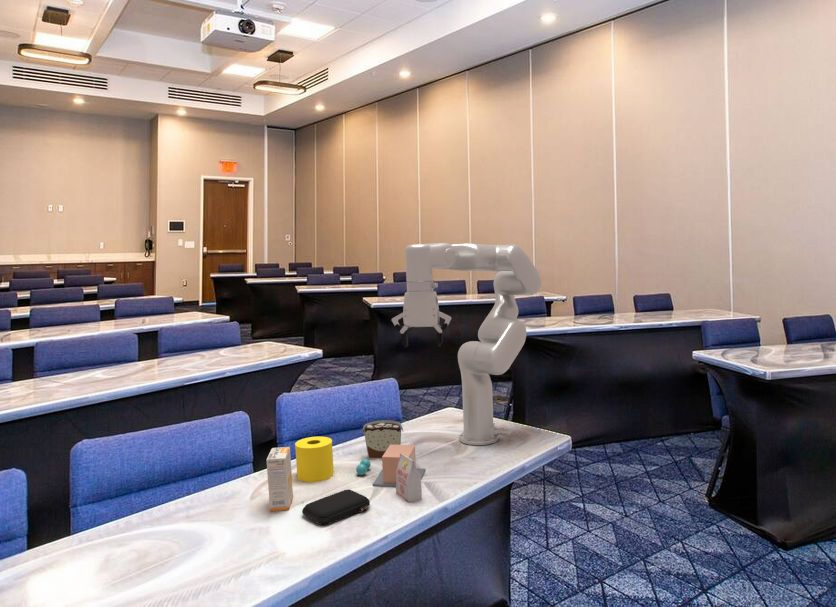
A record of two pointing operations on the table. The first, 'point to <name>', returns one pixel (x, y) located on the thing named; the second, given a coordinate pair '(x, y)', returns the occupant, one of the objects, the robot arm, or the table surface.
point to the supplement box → (279, 478)
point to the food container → (381, 437)
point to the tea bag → (408, 479)
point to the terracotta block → (395, 460)
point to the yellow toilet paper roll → (314, 459)
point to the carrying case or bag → (335, 507)
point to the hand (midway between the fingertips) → (422, 346)
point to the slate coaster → (380, 483)
